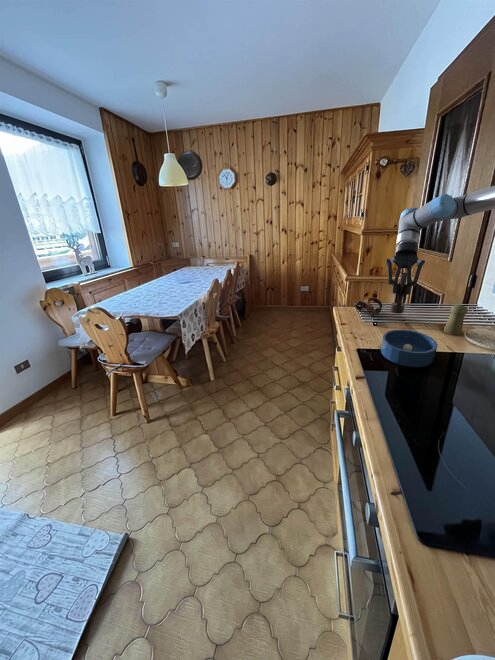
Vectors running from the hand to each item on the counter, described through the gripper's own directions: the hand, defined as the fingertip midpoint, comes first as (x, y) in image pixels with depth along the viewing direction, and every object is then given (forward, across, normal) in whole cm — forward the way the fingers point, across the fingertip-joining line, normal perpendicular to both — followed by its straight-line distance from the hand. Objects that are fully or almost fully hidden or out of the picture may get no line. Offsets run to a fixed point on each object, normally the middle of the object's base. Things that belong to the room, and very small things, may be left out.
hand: (399, 301), depth 103 cm
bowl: (+18, -4, -4) cm, 19 cm away
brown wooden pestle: (+1, 0, -7) cm, 7 cm away
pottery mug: (-5, +11, -28) cm, 30 cm away
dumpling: (+17, -4, -2) cm, 17 cm away
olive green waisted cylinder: (+2, -22, -21) cm, 30 cm away
